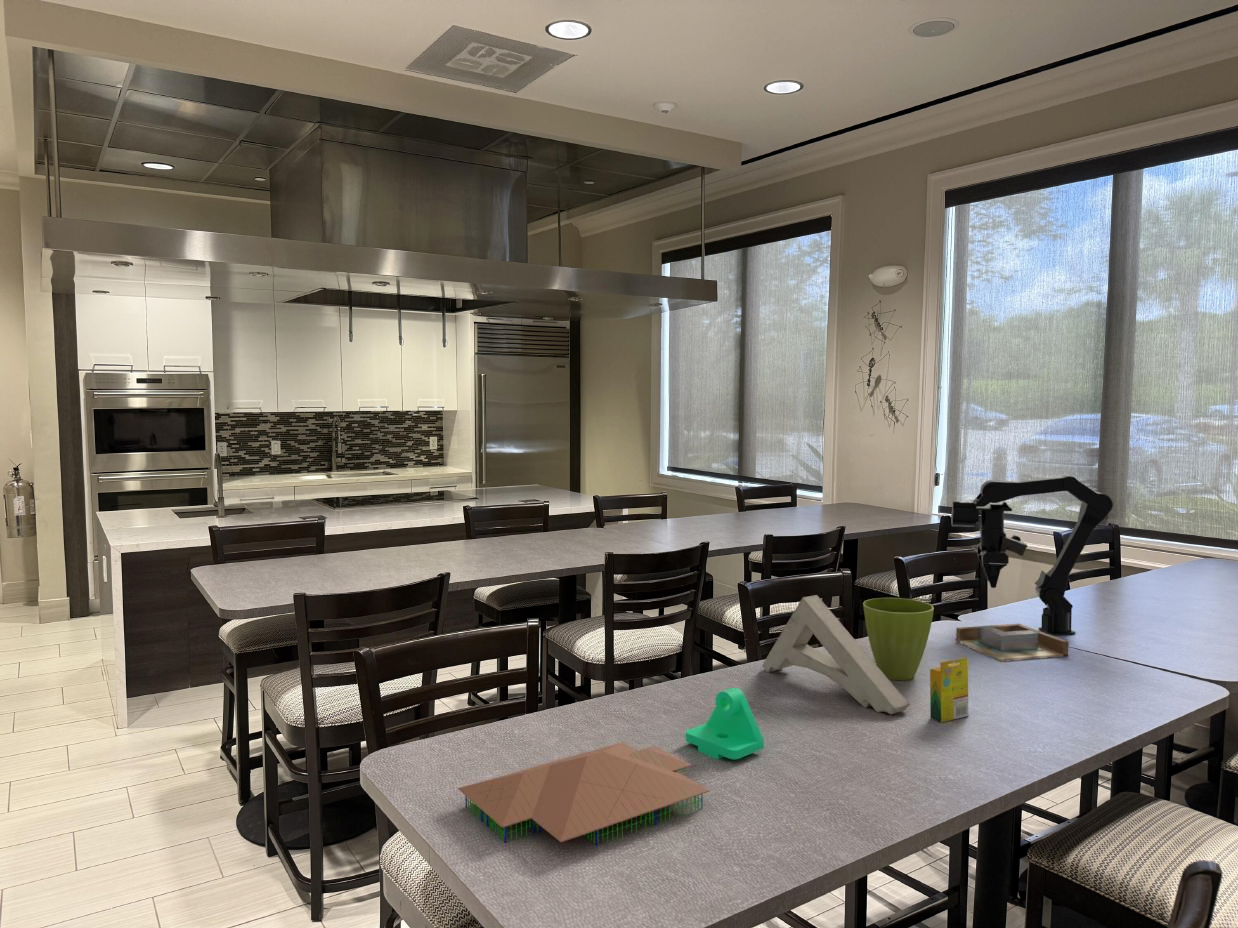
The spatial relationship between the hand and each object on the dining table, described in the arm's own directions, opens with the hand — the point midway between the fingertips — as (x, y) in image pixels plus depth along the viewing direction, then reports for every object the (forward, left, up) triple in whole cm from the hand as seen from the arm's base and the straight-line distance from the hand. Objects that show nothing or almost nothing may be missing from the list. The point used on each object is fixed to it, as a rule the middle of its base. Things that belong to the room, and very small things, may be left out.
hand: (991, 584), depth 227 cm
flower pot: (+46, +32, -12) cm, 57 cm away
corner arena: (+8, +19, -12) cm, 24 cm away
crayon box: (+50, +58, -12) cm, 77 cm away
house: (+123, +79, -13) cm, 147 cm away
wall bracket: (+65, +38, -12) cm, 76 cm away
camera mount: (+97, +63, -12) cm, 116 cm away
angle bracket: (+9, +19, -11) cm, 24 cm away
